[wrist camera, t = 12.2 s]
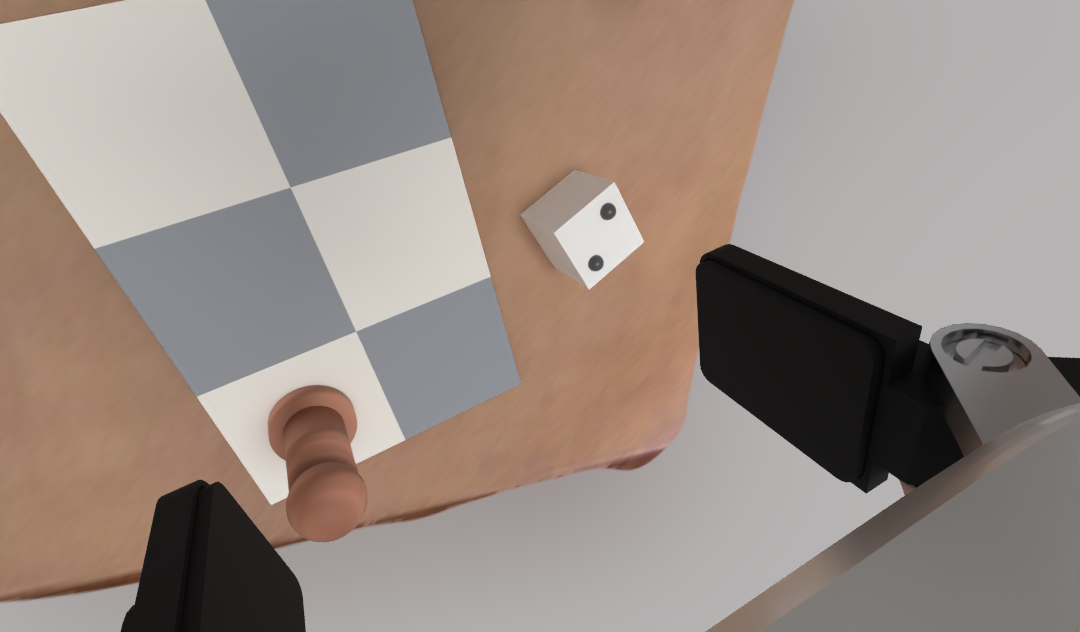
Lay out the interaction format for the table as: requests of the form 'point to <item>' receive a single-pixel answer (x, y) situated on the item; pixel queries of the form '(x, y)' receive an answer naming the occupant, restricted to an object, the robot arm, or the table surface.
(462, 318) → the board
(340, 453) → the pawn
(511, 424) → the table surface
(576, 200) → the die
